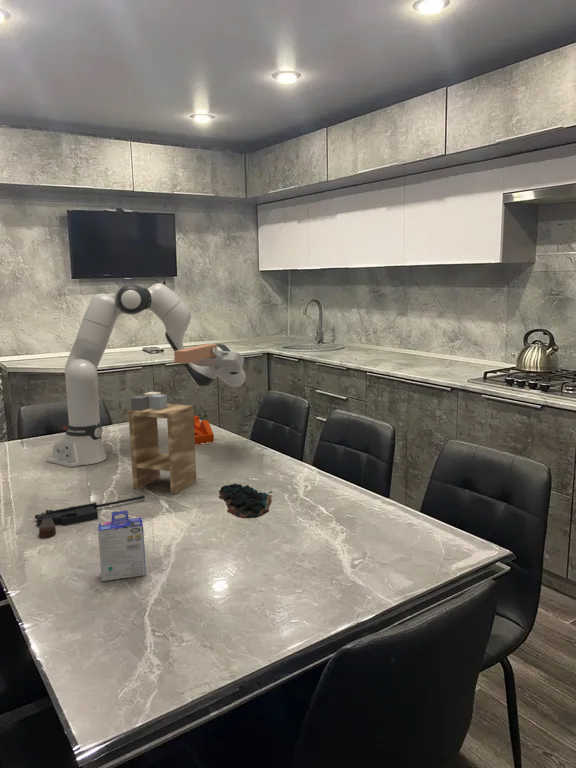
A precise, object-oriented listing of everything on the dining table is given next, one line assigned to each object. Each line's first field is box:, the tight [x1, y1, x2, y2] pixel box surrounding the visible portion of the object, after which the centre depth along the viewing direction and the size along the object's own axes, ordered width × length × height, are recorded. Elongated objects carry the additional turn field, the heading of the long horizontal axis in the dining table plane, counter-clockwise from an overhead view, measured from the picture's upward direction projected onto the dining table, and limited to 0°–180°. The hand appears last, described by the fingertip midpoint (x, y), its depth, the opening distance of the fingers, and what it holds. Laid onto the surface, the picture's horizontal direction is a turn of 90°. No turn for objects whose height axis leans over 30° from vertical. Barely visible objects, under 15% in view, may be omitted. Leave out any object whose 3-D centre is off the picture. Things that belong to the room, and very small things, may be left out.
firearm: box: [34, 495, 146, 539], centre depth 169 cm, size 32×3×15 cm
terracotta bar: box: [173, 343, 218, 365], centre depth 202 cm, size 4×22×4 cm, turn 159°
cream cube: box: [143, 391, 162, 406], centre depth 196 cm, size 4×4×4 cm
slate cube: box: [149, 394, 168, 410], centre depth 191 cm, size 4×4×4 cm
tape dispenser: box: [194, 415, 215, 446], centre depth 251 cm, size 18×13×8 cm
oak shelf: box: [127, 403, 197, 495], centre depth 193 cm, size 16×13×26 cm
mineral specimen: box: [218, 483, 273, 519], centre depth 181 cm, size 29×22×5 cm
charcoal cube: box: [130, 395, 149, 411], centre depth 189 cm, size 4×4×4 cm
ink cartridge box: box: [97, 510, 146, 582], centre depth 135 cm, size 10×6×14 cm, turn 107°
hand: (205, 349), depth 208 cm, fingers closed on terracotta bar, 4 cm apart
